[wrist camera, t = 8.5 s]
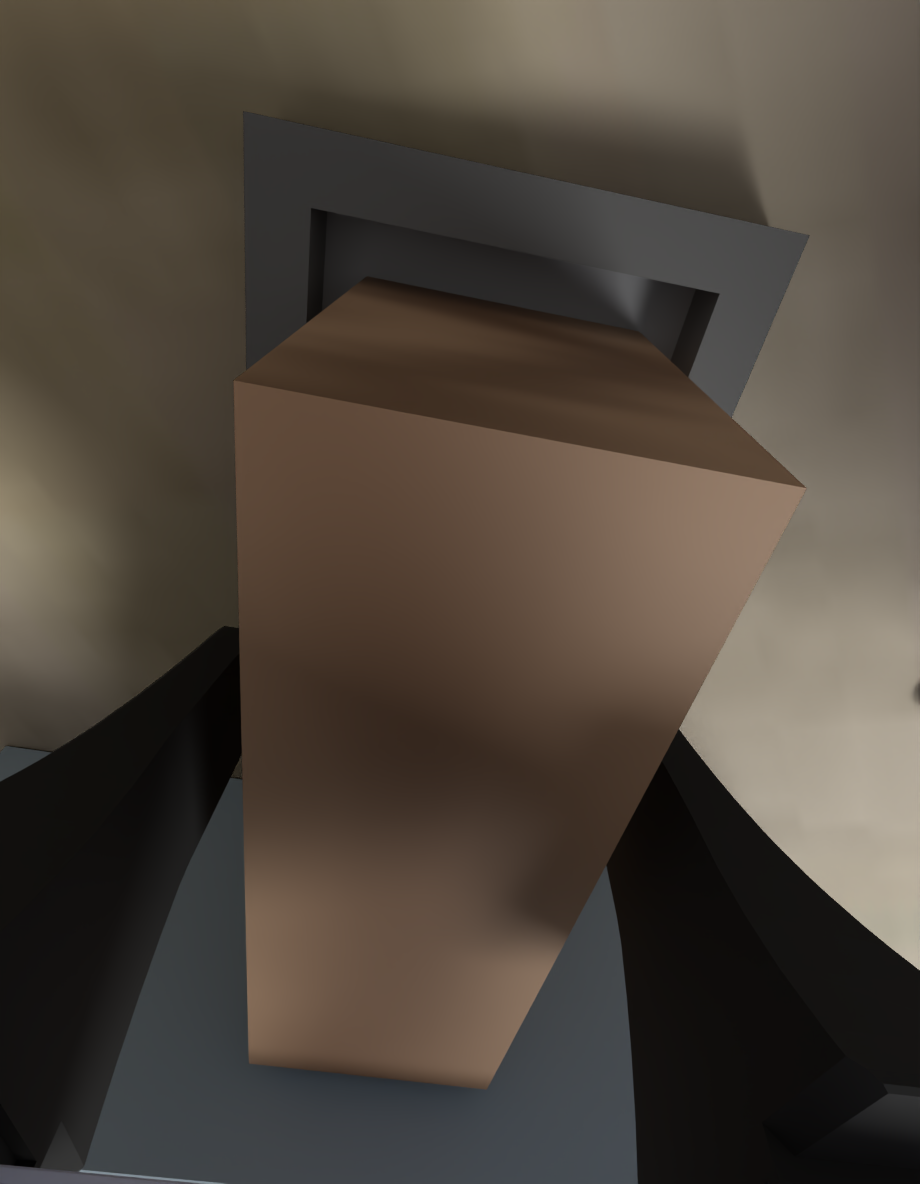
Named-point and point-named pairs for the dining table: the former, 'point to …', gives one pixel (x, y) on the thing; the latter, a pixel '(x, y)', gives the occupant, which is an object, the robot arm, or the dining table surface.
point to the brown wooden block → (462, 654)
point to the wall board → (216, 870)
